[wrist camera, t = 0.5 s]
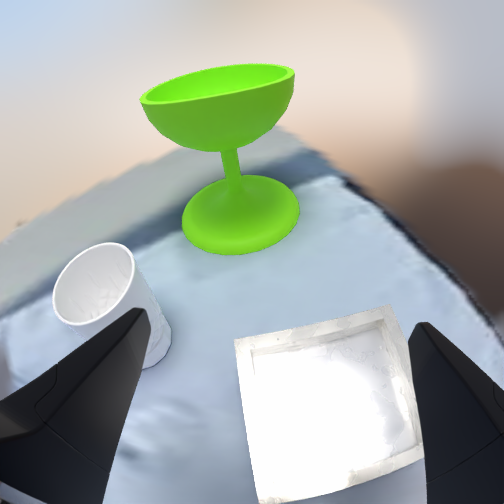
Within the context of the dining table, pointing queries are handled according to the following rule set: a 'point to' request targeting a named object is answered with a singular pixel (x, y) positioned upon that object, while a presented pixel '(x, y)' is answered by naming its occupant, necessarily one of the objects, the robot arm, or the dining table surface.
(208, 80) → the wineglass
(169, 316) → the dining table surface
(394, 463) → the tray
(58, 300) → the white cup
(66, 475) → the robot arm
